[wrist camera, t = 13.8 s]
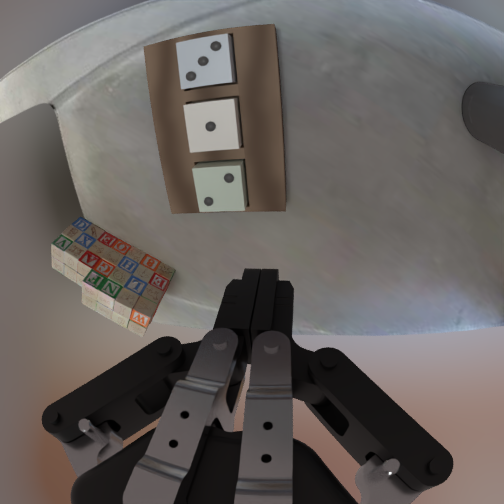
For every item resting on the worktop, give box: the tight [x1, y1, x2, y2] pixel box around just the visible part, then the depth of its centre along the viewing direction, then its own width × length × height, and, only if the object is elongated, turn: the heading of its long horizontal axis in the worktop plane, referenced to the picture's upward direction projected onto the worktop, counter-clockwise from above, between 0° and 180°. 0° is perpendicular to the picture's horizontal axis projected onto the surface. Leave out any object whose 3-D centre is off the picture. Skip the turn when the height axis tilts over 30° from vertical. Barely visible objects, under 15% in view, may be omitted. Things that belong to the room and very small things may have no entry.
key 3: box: [176, 33, 238, 89], centre depth 27 cm, size 6×6×3 cm
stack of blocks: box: [52, 217, 175, 337], centre depth 44 cm, size 21×6×12 cm, turn 61°
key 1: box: [183, 97, 243, 153], centre depth 32 cm, size 6×6×3 cm
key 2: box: [192, 159, 249, 212], centre depth 36 cm, size 6×6×3 cm
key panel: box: [144, 24, 286, 214], centre depth 33 cm, size 16×24×3 cm, turn 5°
